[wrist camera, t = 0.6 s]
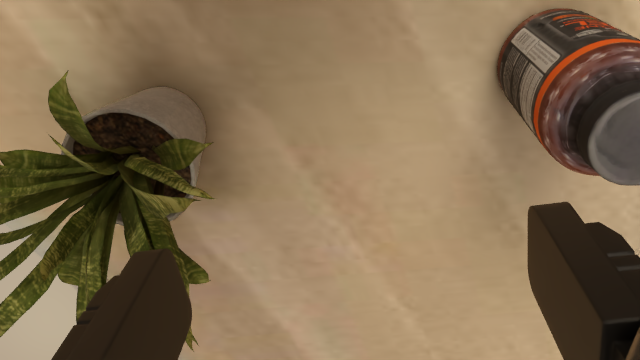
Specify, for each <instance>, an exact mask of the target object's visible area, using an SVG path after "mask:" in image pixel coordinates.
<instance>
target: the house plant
mask: <svg viewBox="0 0 640 360" xmlns="http://www.w3.org/2000/svg"><path fill="white" fill-rule="evenodd" d="M67 73H68V71H67V72H66V73H65V75H64V76H63V77H62V78H61V79H60V80H59V81H58V82H57V83H56V84H55V85H54V86H53V87H52V88H51V89H50V90H49V97H48V103H49V108H50V111H51V113H52V115H53V117H54V118H55V120H56V121H57V122H58V124H59V125H60V126H61V127H62V128H63V129H64V130H65V131H66V132H67V134H66V136H65V139H64V141H63V143H62V145H61V144H59V143H58V142H57V141H56V140H55V139H54V138H52V137H51V136H50V135H49V134H48V135H49V136H50V137H51V138H52V139H53V141H54V142H55V143H56V144H57V145H58V146H59V147H60V149H61V150H62V153H61V155H60V154H53V153H46V152H40V151H33V150H14V151H9V152H0V160H1V162H2V163H3V165H4V166H2V165H0V225H1V224H4V223H6V222H8V221H11V220H14V219H16V218H19V217H22V216H25V215H28V214H30V213H33V212H36V211H38V210H41V209H43V208H46V207H48V206H51V205H53V204H55V203H58V202H60V201H62V200H65V199H67V198H69V199H68V200H67V201H66V202H64V203H63V204H62V205H61V206H60V207H59V208H57V209H56V210H55V211H54V212H53V213H52V214H51V215H50V216H49V217H48V218H47V219H45V220H43V221H41V222H38V223H36V224H33V225H31V226H28V227H25V228H22V229H19V230H15V231H11V232H8V233H1V234H0V245H2V244H7V243H10V242H13V241H16V240H18V239H21V238H24V237H26V236H28V235H30V234H32V233H33V234H32V235H31V236H30V237H29V238H27V239H26V240H25V241H24V242H23V243H22V244H21V245H20V246H18V247H17V248H16V249H15V250H14V251H12V252H11V253H10V254H9V255H8V256H7V257H5V258H4V259H3V260H2V261H0V280H1V279H3V278H4V277H5V276H6V275H8V274H9V273H10V272H11V271H12V270H14V269H15V268H16V267H17V266H18V265H20V264H21V263H22V262H23V261H24V260H25V259H26V258H27V257H28V256H29V255H30V254H31V253H32V252H33V251H34V250H35V249H36V248H37V246H38V245H39V244H40V243H41V242H42V241H43V240H44V239H45V238H46V237H47V236H49V235H50V234H51V233H52V232H53V231H54V230H55V229H56V227H57V226H58V225H59V224H60V223H61V222H62V221H63V220H64V219H65V218H66V217H67V216H68V215H69V214H70V213H72V212H73V211H75V210H77V209H78V208H80V207H82V206H83V205H85V206H84V207H83V208H82V209H81V210H80V211H78V212H77V213H76V214H74V215H73V216H72V217H71V218H70V220H69V221H68V222H67V223H66V224H65V226H64V227H63V228H62V230H61V231H60V233H59V234H58V236H57V237H56V239H55V240H54V241H53V243H52V244H51V246H50V247H49V249H48V250H47V251H46V253H45V255H44V257H43V259H42V260H41V261H40V262H39V264H38V265H37V266H36V267H35V268H34V269H33V270H32V272H31V273H30V274H29V275H28V276H27V277H26V278H25V279H24V280H23V281H22V282H21V283H20V284H19V286H18V287H17V288H16V289H15V290H14V291H13V292H12V293H11V294H10V295H9V296H8V297H7V298H6V299H5V300H4V301H3V302H2V303H1V304H0V337H1V336H2V335H3V334H4V333H5V332H6V331H7V330H8V329H9V328H10V327H11V326H12V325H13V324H14V323H15V322H16V321H17V320H18V319H19V318H20V317H21V316H22V315H23V314H24V313H25V312H26V311H27V310H28V309H30V308H31V307H32V305H34V304H35V302H36V301H37V300H38V299H39V298H40V297H41V296H42V295H43V294H44V293H45V292H46V291H47V290H48V288H49V287H50V285H51V283H52V281H53V280H54V278H55V276H56V275H57V274H58V277H59V279H60V280H61V281H62V282H64V283H68V284H72V285H77V286H78V293H77V309H76V321H77V320H78V319H79V317H80V316H81V314H82V313H83V311H86V307H87V305H88V304H89V302H90V301H91V299H92V298H93V296H94V295H95V293H96V292H97V291H98V290H99V289H100V288H101V287H102V286H103V285H105V284H106V279H107V270H108V264H109V257H110V251H111V245H112V239H113V233H114V228H115V224H119V225H123V226H124V235H125V239H126V244H127V249H128V252H129V254H130V257H131V256H132V255H133V254H134V253H135V252H140V251H148V250H157V249H165V248H167V249H169V250H171V252H172V253H173V255H174V257H175V260H176V263H177V266H178V268H179V271H180V274H181V277H182V279H183V282H184V285H185V288H186V290H187V293H188V296H189V283H190V284H201V283H207V282H209V278H208V274H207V273H206V271H205V270H204V269H203V268H202V267H201V266H199V265H198V264H197V263H196V262H195V261H193V260H192V259H191V258H190V257H188V256H187V255H186V254H185V253H184V252H183V251H182V250H180V249H179V248H178V245H177V242H176V240H175V237H174V234H173V231H172V228H171V225H170V221H172V220H174V219H176V218H177V217H178V216H179V215H180V214H181V213H183V212H184V211H185V210H186V209H187V207H188V206H189V205H190V204H191V203H192V202H193V201H200V200H196V199H193V197H194V196H197V197H202V198H207V199H214V198H212V197H211V196H209V195H208V194H207V193H206V192H204V191H202V190H200V189H198V188H196V183H197V178H198V173H199V167H200V162H201V157H202V152H203V150H204V149H205V148H206V147H207V146H209V145H210V144H212V143H214V142H212V143H206V144H204V142H205V137H206V123H205V120H204V117H203V114H202V112H201V111H200V109H199V108H198V106H197V105H196V103H195V102H194V101H193V100H191V99H190V98H189V97H188V96H187V95H185V94H184V93H182V92H180V91H178V90H176V89H173V88H169V87H154V88H149V89H145V90H142V91H140V92H138V93H135V94H133V95H130V96H128V97H125V98H123V99H121V100H118V101H116V102H113V103H111V104H108V105H106V106H103V107H101V108H99V109H96V110H94V111H92V112H90V113H88V114H86V115H84V116H83V117H81V115H80V113H79V111H78V109H77V107H76V105H75V103H74V102H73V100H72V98H71V96H70V94H69V92H68V88H67V83H66V76H67ZM210 281H211V280H210ZM192 340H193V341H195V342H196V343H197V341H196V340H195V338H194V336H193V335H192V330H191V326H190V329H189V332H188V334H187V337H186V339H185V341H186V343H187V344H188V346H189V347H190V348H191V349H192ZM197 345H198V343H197ZM198 346H199V345H198ZM192 350H193V349H192Z"/></svg>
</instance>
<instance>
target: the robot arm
mask: <svg viewBox="0 0 640 360" xmlns="http://www.w3.org/2000/svg"><path fill="white" fill-rule="evenodd" d="M528 274H529V280H530V285H531V288H532V291H533V294H534V296H535V299H536V301H537V303H538V305H539V307H540V309H541V312H542V314H543V316H544V318H545V320H546V322H547V324H548V327H549V329H550V331H551V333H552V335H553V337H554V340H555V342H556V344H557V346H558V348H559V350H560V352H561V355H562V357H563V359H564V360H640V258H639V257H638V255H635V253H634V250H633V249H632V248H631V247H630V245H629V244H628V243H627V242H626V241H625V239H624V238H623V237H622V236H621V235H620V234H618V233H617V232H615V231H613V230H612V229H610V228H608V227H606V226H605V225H603V224H601V223H599V222H595V223H586V224H584V222H583V221H582V219H581V218H580V217H579V215H578V214H577V213H576V211H575V210H574V208H573V207H572V206H571V204H570V203H568V202H561V203H552V204H544V205H535V206H530V207H529V210H528ZM191 320H192V308H191V302H190V299H189V296H188V293H187V290H186V288H185V285H184V282H183V279H182V277H181V274H180V271H179V268H178V266H177V263H176V260H175V257H174V255H173V253H172V252H171V250H169V249H167V248H165V249H157V250H148V251H140V252H135V253H134V254H133V255H132V256H131V258H130V259H129V261H128V263H127V264H126V266H125V267H124V269H123V270H122V272H121V274H120V275H117V276H114V277H113V278H112V279H110V280H109V281H108V282H107V283H106V284H105V285H103V286H102V287H101V288H100V289H99V290H98V291H97V292H96V293H95V295H94V296H93V298H92V299H91V301H90V302H89V304H88V305H87V307H86V311H83V313H82V314H81V316H80V317H79V319H78V320H77V325H74V326H73V328H72V329H71V331H70V332H69V334H68V335H67V337H66V338H65V340H64V341H63V343H62V344H61V346H60V347H59V349H58V350H57V352H56V353H55V355H54V356H53V358H52V360H178V357H179V355H180V352H181V350H182V347H183V344H184V342H185V339H186V337H187V334H188V332H189V329H190V326H191Z"/></svg>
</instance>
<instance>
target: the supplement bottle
mask: <svg viewBox="0 0 640 360" xmlns="http://www.w3.org/2000/svg"><path fill="white" fill-rule="evenodd" d="M497 72H498V80H499V83H500V87H501V89H502V91H503V92H504V94H505V96H506V97H507V99H508V100H509V102H510V103H511V104H512V105H513V107H514V108H515V110H516V111H517V112H518V114H519V115H520V116H521V117H522V119H523V120H524V122H525V123H526V124H527V125H528V127H529V128H530V130H531V131H532V132H533V133H534V135H535V136H536V137H537V139H538V140H539V142H540V143H541V144H542V145H543V146H544V148H545V149H546V150H547V151H548V153H549V154H550V155H551V156H552V157H553V158H554V159H555V160H556V161H558V162H559V163H560V164H562V165H563V166H565V167H566V168H568V169H570V170H572V171H575V172H578V173H582V174H586V175H593V176H601V177H603V178H604V179H606V180H608V181H610V182H613V183H616V184H619V185H640V40H639V39H637V38H634V37H632V36H631V35H629V34H627V33H625V32H622V31H621V30H619V29H616V28H614V27H612V26H611V25H609V24H607V23H605V22H603V21H601V20H599V19H597V18H595V17H593V16H590V15H589V14H587V13H584V12H582V11H576V10H573V9H552V10H547V11H544V12H541V13H538V14H536V15H532V16H531V17H529V18H528V19H526V20H525V21H523V22H522V23H521V24H520V25H519V26H518V27H517V28H516V29H515V30H514V31H513V32H512V33H511V34H510V35H509V37H508V38H507V40H506V41H505V43H504V45H503V47H502V49H501V52H500V55H499V59H498V66H497Z"/></svg>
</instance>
